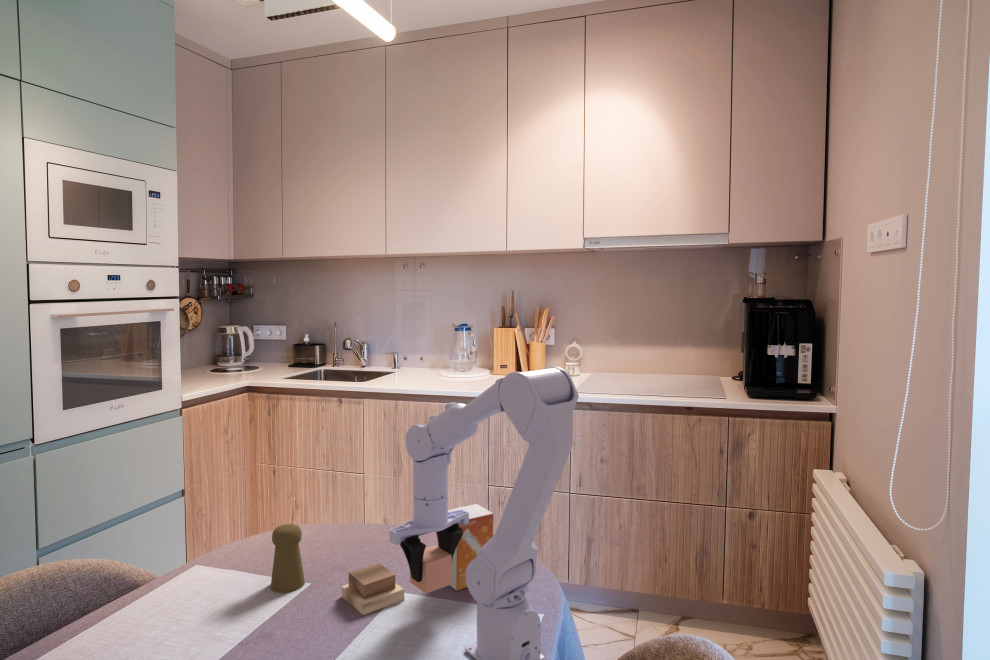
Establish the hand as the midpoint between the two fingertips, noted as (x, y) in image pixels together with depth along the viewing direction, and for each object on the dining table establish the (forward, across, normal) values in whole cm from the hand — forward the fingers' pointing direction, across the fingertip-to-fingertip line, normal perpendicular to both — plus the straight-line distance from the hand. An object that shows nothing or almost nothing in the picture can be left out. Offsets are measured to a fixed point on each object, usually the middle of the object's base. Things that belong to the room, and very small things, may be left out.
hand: (430, 574), depth 100 cm
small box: (+7, -12, -6) cm, 15 cm away
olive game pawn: (+7, +15, -25) cm, 30 cm away
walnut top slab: (+5, +5, -11) cm, 13 cm away
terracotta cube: (+2, 0, 0) cm, 2 cm away
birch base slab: (+7, +5, -11) cm, 14 cm away
